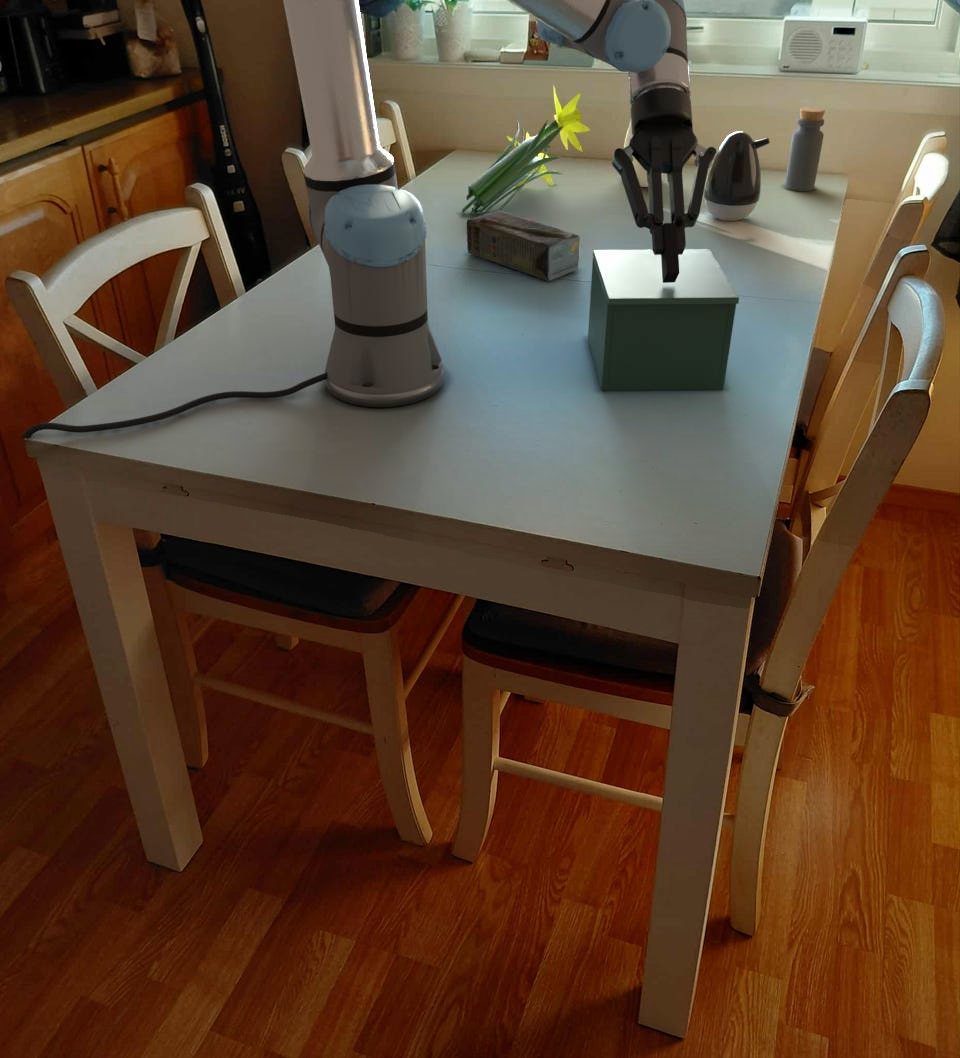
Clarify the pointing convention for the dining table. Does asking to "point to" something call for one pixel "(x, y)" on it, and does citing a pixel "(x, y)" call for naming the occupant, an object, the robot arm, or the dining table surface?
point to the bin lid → (641, 279)
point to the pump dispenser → (734, 178)
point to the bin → (658, 343)
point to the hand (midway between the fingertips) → (671, 277)
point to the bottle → (805, 150)
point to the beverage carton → (523, 244)
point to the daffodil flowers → (525, 159)
